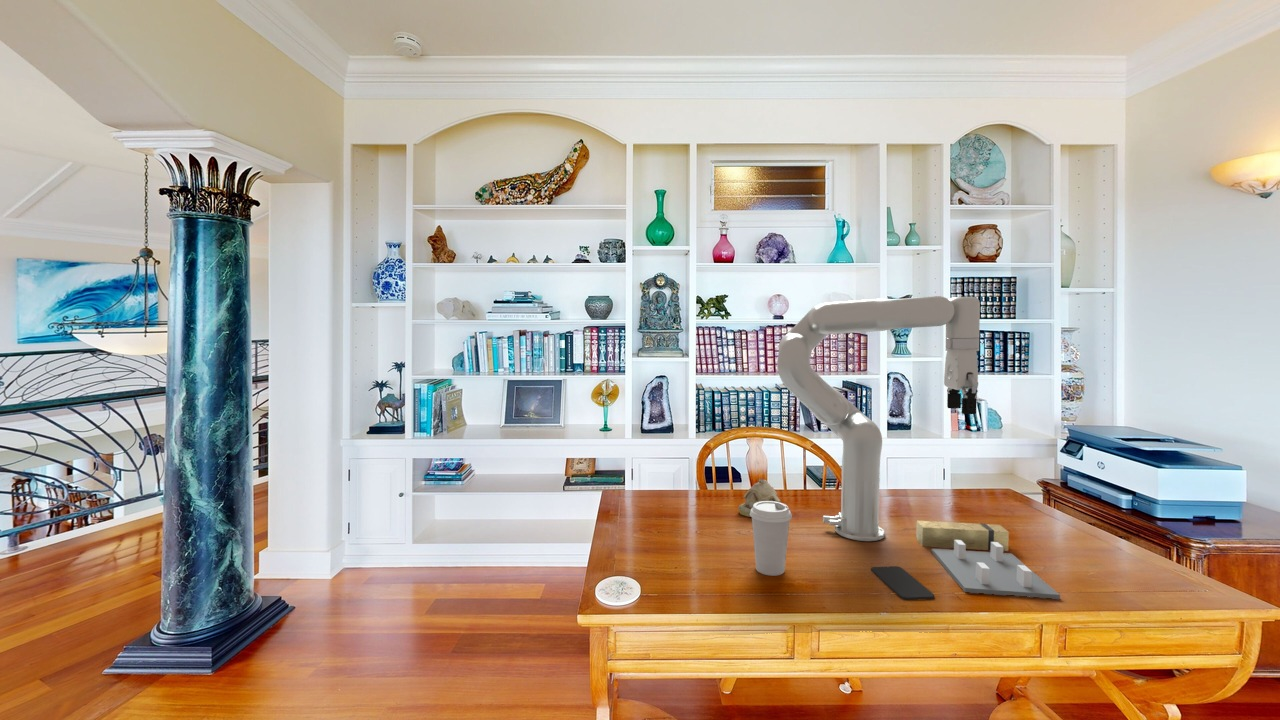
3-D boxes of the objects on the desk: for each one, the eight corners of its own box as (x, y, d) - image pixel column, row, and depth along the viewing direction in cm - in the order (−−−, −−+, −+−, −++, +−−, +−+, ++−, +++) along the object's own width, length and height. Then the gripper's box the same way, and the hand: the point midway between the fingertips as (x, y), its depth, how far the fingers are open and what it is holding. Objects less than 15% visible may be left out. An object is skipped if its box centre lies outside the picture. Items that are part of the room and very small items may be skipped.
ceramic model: (757, 502, 179) (757, 471, 178) (788, 510, 171) (789, 478, 170) (732, 513, 169) (732, 480, 168) (764, 521, 161) (764, 488, 160)
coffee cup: (784, 582, 123) (784, 516, 122) (743, 572, 128) (743, 508, 127) (796, 566, 131) (797, 504, 130) (757, 557, 136) (758, 497, 135)
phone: (899, 565, 130) (937, 596, 115) (899, 569, 130) (937, 600, 115) (868, 567, 130) (902, 597, 115) (868, 570, 130) (902, 601, 115)
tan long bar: (922, 546, 142) (922, 526, 142) (916, 538, 147) (916, 519, 147) (1008, 551, 139) (1009, 531, 138) (998, 543, 144) (999, 524, 143)
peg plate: (964, 592, 118) (965, 571, 117) (931, 552, 138) (932, 534, 138) (1059, 599, 114) (1060, 578, 114) (1011, 557, 135) (1012, 539, 135)
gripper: (934, 344, 152) (934, 406, 153) (959, 346, 135) (958, 416, 136) (964, 343, 151) (963, 406, 152) (993, 346, 134) (992, 416, 135)
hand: (961, 410), depth 144 cm, fingers open, 9 cm apart
